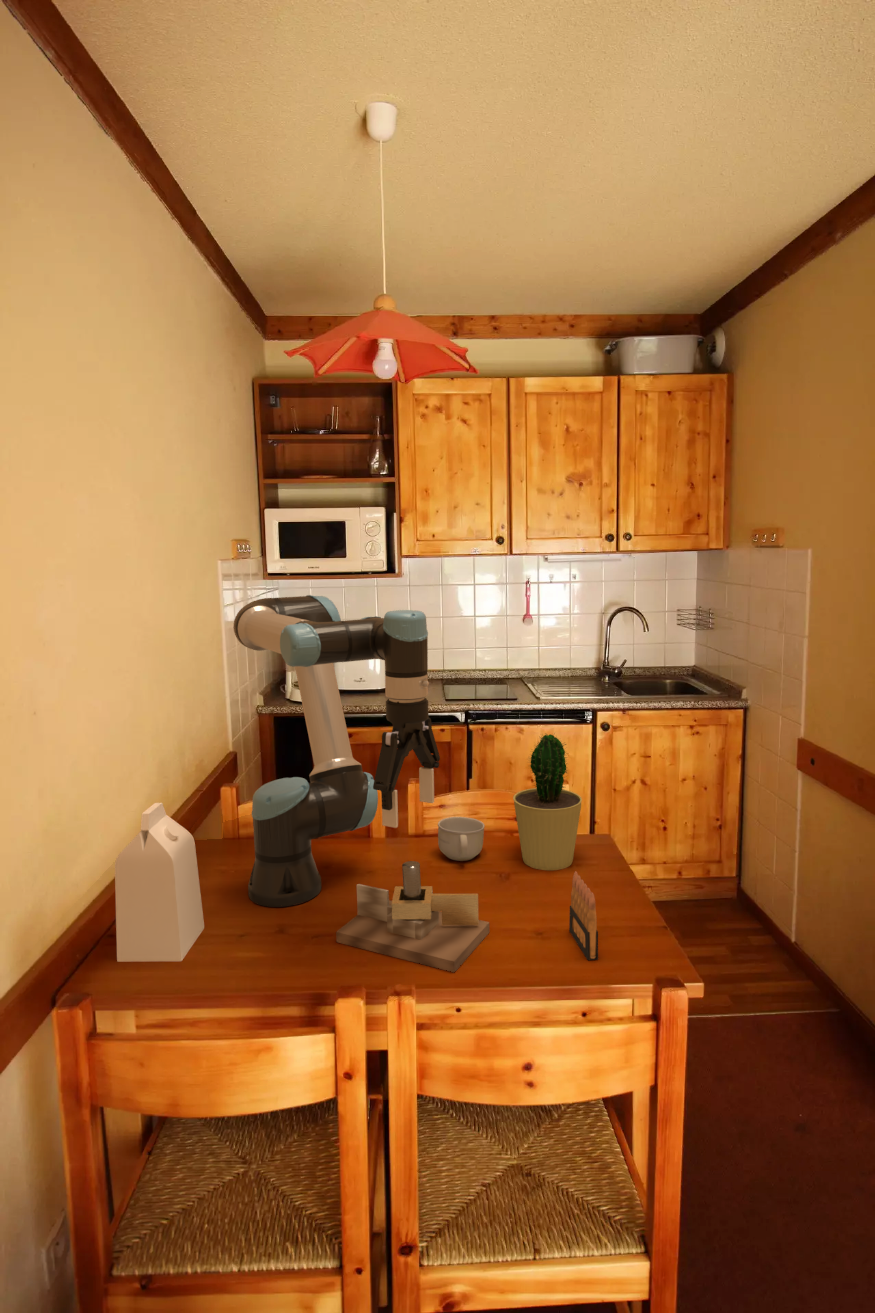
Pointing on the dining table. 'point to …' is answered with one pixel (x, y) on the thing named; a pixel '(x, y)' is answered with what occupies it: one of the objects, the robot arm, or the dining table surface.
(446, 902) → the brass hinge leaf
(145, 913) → the milk
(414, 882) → the hinge pin
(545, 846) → the potted cactus
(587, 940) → the ammunition clip
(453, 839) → the teacup
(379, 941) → the hinge base
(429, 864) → the dining table surface
